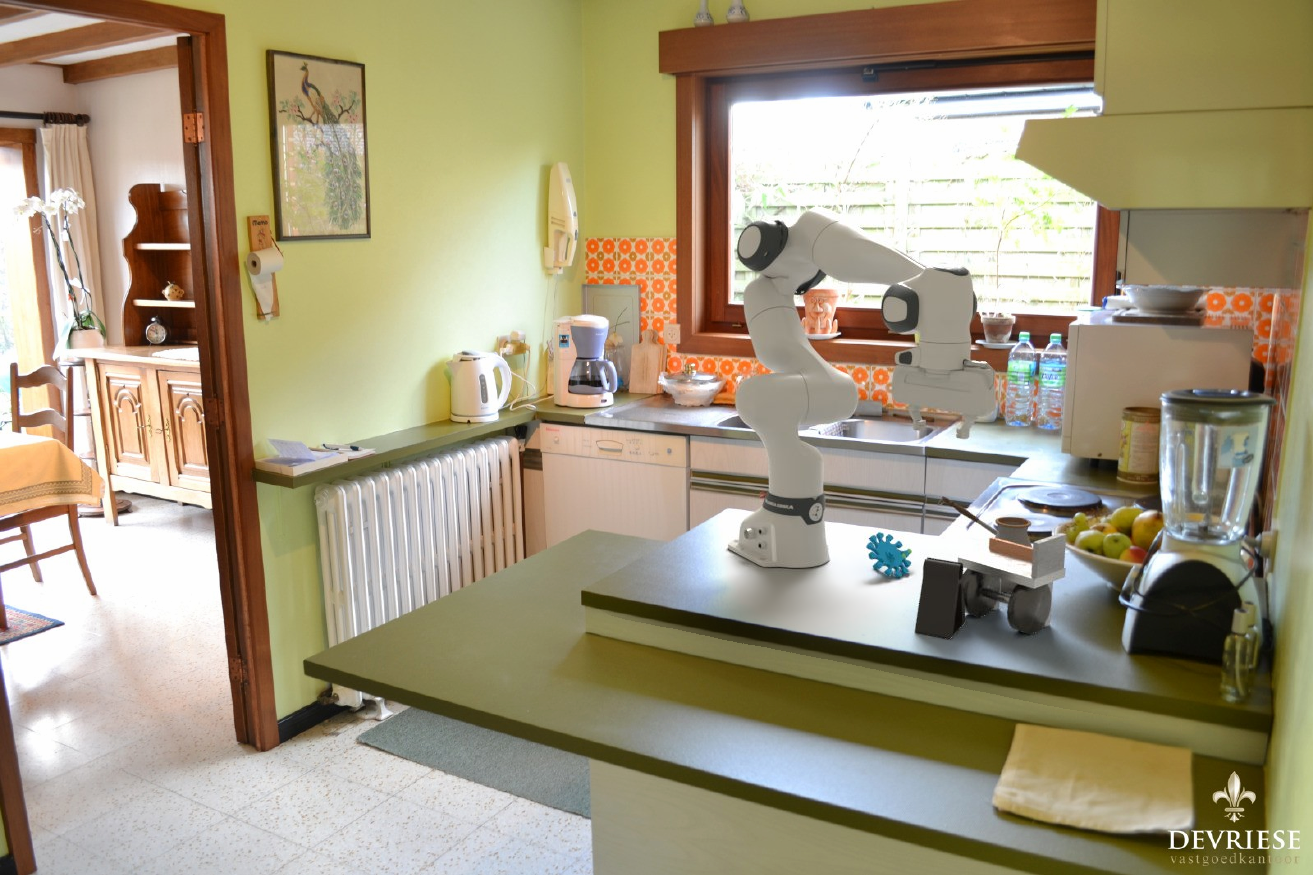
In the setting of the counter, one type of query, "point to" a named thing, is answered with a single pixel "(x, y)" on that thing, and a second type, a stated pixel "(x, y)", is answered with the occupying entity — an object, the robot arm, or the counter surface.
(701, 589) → the counter surface
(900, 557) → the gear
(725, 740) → the counter surface
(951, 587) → the phone stand
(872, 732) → the counter surface
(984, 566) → the trolley
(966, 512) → the coffee pot
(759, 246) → the robot arm
